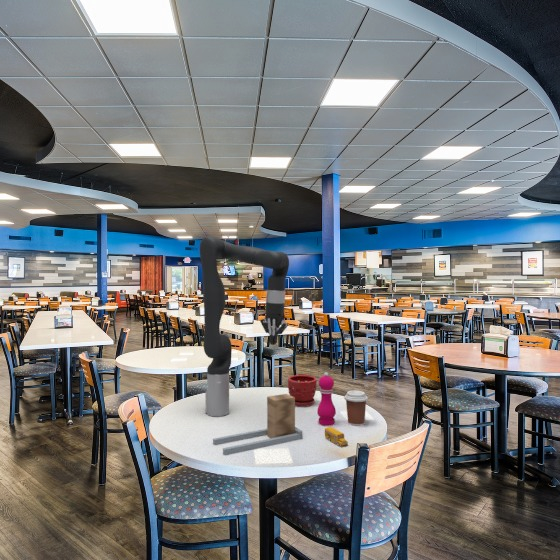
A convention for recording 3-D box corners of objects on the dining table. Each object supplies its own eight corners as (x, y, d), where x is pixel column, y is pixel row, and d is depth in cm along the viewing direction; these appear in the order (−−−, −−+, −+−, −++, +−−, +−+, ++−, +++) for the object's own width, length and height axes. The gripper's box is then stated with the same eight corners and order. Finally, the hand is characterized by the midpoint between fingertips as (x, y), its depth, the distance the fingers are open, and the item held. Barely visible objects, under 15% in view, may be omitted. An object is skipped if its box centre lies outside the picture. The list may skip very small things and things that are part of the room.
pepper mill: (316, 420, 164) (316, 370, 164) (334, 420, 164) (334, 370, 164) (318, 426, 157) (317, 374, 157) (336, 426, 157) (336, 374, 157)
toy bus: (340, 448, 136) (340, 436, 136) (324, 438, 144) (324, 427, 145) (348, 446, 137) (348, 435, 137) (331, 437, 146) (331, 426, 146)
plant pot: (282, 404, 187) (282, 378, 187) (299, 398, 197) (299, 373, 197) (305, 409, 178) (304, 382, 178) (322, 403, 188) (322, 377, 188)
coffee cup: (343, 419, 165) (343, 389, 165) (366, 419, 164) (366, 389, 164) (345, 426, 156) (344, 395, 156) (369, 427, 155) (369, 395, 155)
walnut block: (275, 441, 141) (275, 400, 141) (267, 435, 146) (267, 396, 146) (295, 437, 144) (294, 397, 145) (286, 432, 150) (286, 393, 150)
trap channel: (224, 456, 129) (224, 446, 129) (213, 444, 139) (213, 435, 139) (302, 439, 143) (302, 430, 143) (286, 430, 153) (286, 422, 153)
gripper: (294, 302, 162) (291, 345, 163) (267, 299, 170) (265, 340, 171) (283, 303, 156) (281, 348, 157) (256, 300, 164) (254, 342, 165)
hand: (272, 344), depth 164 cm, fingers closed
